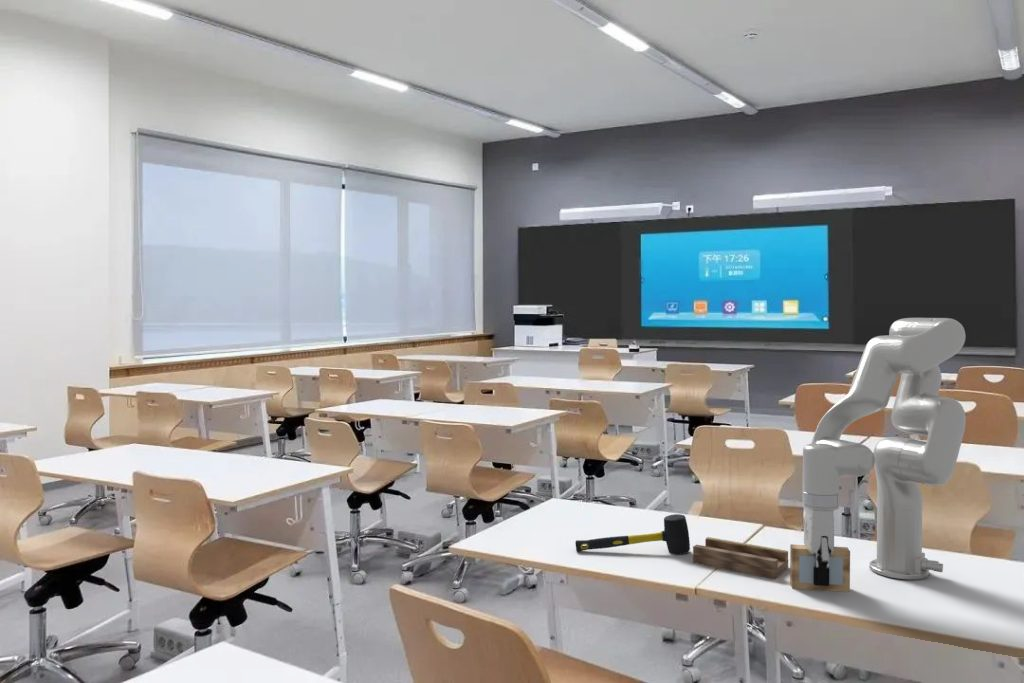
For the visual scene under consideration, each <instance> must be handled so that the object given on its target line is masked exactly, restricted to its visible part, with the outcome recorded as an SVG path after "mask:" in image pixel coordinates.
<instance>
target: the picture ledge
mask: <svg viewBox="0 0 1024 683" xmlns="http://www.w3.org/2000/svg"><path fill="white" fill-rule="evenodd" d="M704 544H705V545H701V544H695V545H694V546H692V564H695V565H696V564H697V565H702V566H707V567H712V568H716V569H722V570H726V571H727V570H728V571H731V572H737V573H743V574H747V575H752V576H757V577H764V578H768V579H774V580H775V579H776V578H777V577H779V576H780V575H782V573H784V572H785V571H786V570H787V569H789V550H785V549H779V548H774V547H768V546H762V545H756V544H752V543H746V542H740V541H734V540H727V539H721V538H715V537H711V536H707V537H705V543H704Z"/></svg>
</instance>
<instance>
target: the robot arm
mask: <svg viewBox="0 0 1024 683" xmlns="http://www.w3.org/2000/svg"><path fill="white" fill-rule="evenodd" d="M888 333H889V334H888V335H877V336H874V337H872V338H870V340H869V341H867V343H866V345H865V347H864V349H863V352H862V355H861V358H860V361H859V363H858V366H857V368H856V371H855V374H854V377H853V379H852V382H851V384H850V388H849V390H848V392H847V393H846V395H844V397H842V398H841V399H839V400H838V401H837V402H836V403H835V404H834V405H833V406H831V407H830V409H829V410H827V411H826V413H825V414H824V415H823V416H822V418H820V420H819V422H818V424H817V427H816V429H815V431H814V434H813V437H812V440H811V442H810V443H808V444H805V445H804V447H803V450H802V484H801V485H802V493H801V494H802V497H801V498H802V499H801V500H802V502H801V504H802V507H804V508H805V511H804V512H805V513H804V530H803V531H804V532H803V545H806V547H807V549H808V551H809V553H810V554H814V553H815V567H814V574H813V583H814V585H819V586H829V555H832V554H833V553H834V547H835V515H834V514H835V511H837V510H839V508H840V502H839V501H840V497H839V496H840V477H852V478H853V477H854V478H856V477H857V478H859V477H862V476H866V475H867V474H869V473H870V472H871V471H872V470H873V469H874V472H875V478H876V487H877V488H876V490H877V497H876V498H877V499H876V500H877V501H876V502H877V503H876V504H877V505H876V508H877V509H876V510H877V511H876V512H877V514H876V525H877V526H876V558H875V559H872V560H871V561H870V562H869V569H870V570H871V571H872V572H874V573H876V574H878V575H881V576H884V577H888V578H892V579H898V580H908V581H909V580H910V581H911V580H912V581H913V580H914V581H915V580H924V579H926V578H928V577H929V576H930V571H933V572H937V573H943V572H944V563H940V562H939V560H938V561H937V560H933V559H932V560H930V559H928V558H926V553H925V552H923V506H924V505H923V495H922V492H921V489H920V487H919V485H918V484H922V485H927V486H935V487H937V486H942V485H944V484H947V482H948V481H949V480H950V479H951V478H952V476H953V474H954V471H955V468H956V463H957V460H958V458H959V454H960V449H961V445H962V441H963V439H964V433H965V429H966V424H967V422H966V421H967V419H966V418H967V417H966V413H965V409H964V407H963V405H962V404H961V403H960V402H959V401H958V400H956V399H955V398H951V397H948V396H940V395H939V394H940V388H941V383H942V371H941V368H940V366H939V365H940V364H942V363H943V362H945V361H947V360H949V359H951V358H952V357H954V356H955V355H957V353H959V352H960V351H961V349H962V348H963V347H964V345H965V342H966V331H965V328H964V326H963V324H962V323H960V322H959V321H958V320H956V319H954V318H949V317H906V318H900V319H897V320H895V321H894V322H893V323H892V324H891V325H890V327H889V331H888ZM899 374H901V375H900V380H899V384H898V388H897V392H896V395H895V399H894V403H893V406H892V411H891V418H890V419H891V424H892V425H893V427H894V428H895V429H896V430H897V431H900V432H903V433H906V434H910V435H916V436H917V435H918V436H922V437H923V436H924V437H927V439H926V441H925V440H924V441H923V440H919V439H914V438H907V437H901V436H900V437H899V436H889V437H885V438H883V439H881V440H880V441H879V440H878V442H877V443H876V445H875V446H874V449H873V451H872V449H871V448H870V447H868V446H866V445H865V444H862V443H859V442H856V441H855V442H854V441H850V440H849V441H848V440H845V439H841V436H842V435H843V433H844V431H845V430H846V429H847V428H848V427H849V426H850V425H851V424H853V423H854V422H855V421H858V420H859V419H861V418H864V417H867V416H869V415H872V414H875V413H877V412H880V411H882V410H884V409H886V407H888V404H889V400H890V398H891V396H892V392H893V390H894V387H895V384H896V381H897V379H898V377H899ZM818 551H821V553H818ZM818 556H820V557H821V558H819V559H818Z"/></svg>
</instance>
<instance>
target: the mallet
mask: <svg viewBox="0 0 1024 683" xmlns="http://www.w3.org/2000/svg"><path fill="white" fill-rule="evenodd" d="M687 522H688V521H687V518H686V516H685V515H683V514H670V515H666V516H665V517H664V518H663V529H664V530H662V531H660V532H653V533H645V534H631V535H619V536H609V537H608V536H607V537H599V538H594V539H593V538H592V539H584V540H583V539H581V540H580V539H579V540H578V539H577V540H575V544H574V545H575V550H576V552H578V553H579V552H582V551H587V550H598V549H599V550H600V549H601V550H602V549H610V548H614V547H615V548H617V547H623V546H628V545H629V546H630V545H635V544H641V543H649V542H650V543H651V542H660V541H662V542H665V543H666V546H667V550H668V553H670V554H672V555H685V554H687V553H689V551H690V550H691V545H690V544H691V542H690V534H689V527H688V523H687Z"/></svg>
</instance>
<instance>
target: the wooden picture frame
mask: <svg viewBox="0 0 1024 683" xmlns="http://www.w3.org/2000/svg"><path fill="white" fill-rule="evenodd" d="M789 547H790V548H789V549H790V550H789V551H790V552H789V553H790V558H789V559H790V560H789V561H790V562H789V563H790V564H789V567H790V568H789V572H790V573H789V582H790V583H789V584H790V586H791V589H793V590H794V589H795V590H797V589H798V590H810V591H811V590H814V591H829V592H840V593H841V592H843V593H845V592H846V593H850V592H851V551H850V549H849V548H848V547H846V546H834V553H833V554H832V555H829V586H819V585H814V583H813V574H814V567H815V553H814V554H810V553H809V551H808V549H807V547H806V545H805V544H791V543H790V546H789ZM818 553H821V551H818ZM819 558H821V557H820V556H818V559H819Z"/></svg>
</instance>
